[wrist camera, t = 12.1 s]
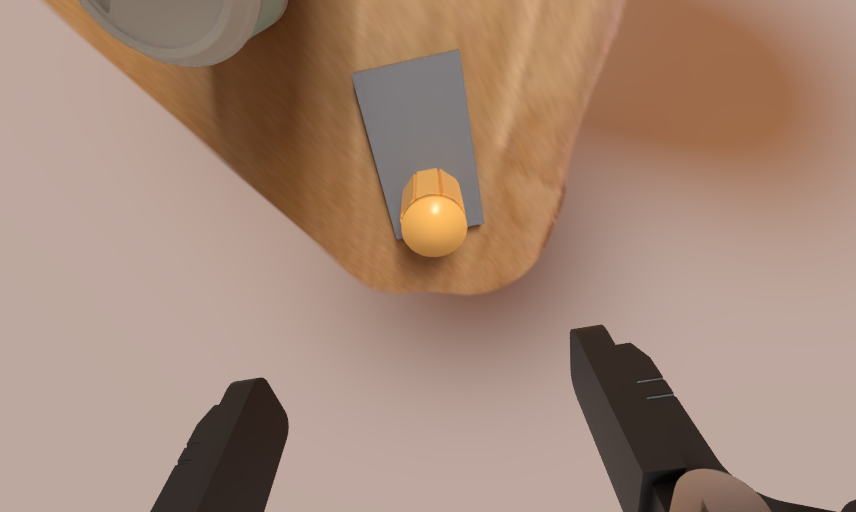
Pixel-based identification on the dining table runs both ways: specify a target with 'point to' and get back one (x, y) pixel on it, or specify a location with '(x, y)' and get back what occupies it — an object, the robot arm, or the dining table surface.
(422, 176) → the wire nut
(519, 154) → the dining table surface
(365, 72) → the board
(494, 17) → the dining table surface
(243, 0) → the coffee cup
